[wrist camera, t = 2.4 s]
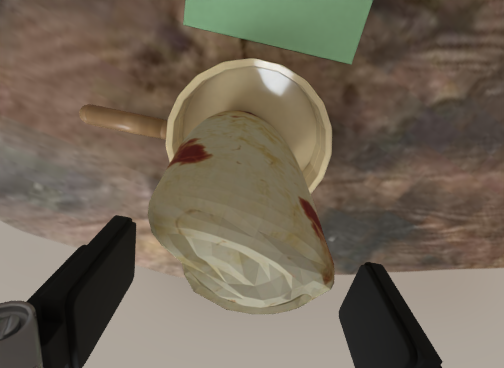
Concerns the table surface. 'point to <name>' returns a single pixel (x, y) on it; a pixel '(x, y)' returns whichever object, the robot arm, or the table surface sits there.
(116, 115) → the brown rod
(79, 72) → the table surface
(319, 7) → the napkin
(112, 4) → the table surface
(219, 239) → the food model
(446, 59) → the table surface
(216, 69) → the pan
